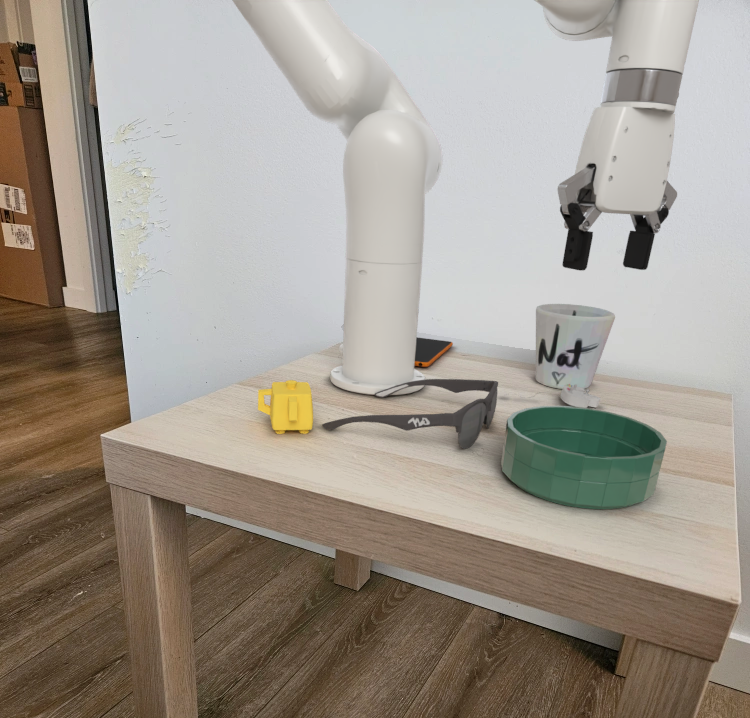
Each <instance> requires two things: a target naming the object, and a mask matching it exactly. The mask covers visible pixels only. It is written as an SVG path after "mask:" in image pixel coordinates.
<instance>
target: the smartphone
mask: <svg viewBox="0 0 750 718" xmlns="http://www.w3.org/2000/svg"><path fill="white" fill-rule="evenodd" d="M453 344H454V343H453V341H449V340H441V339H434V338H426V337H419V336H417V338H416V351H415V364H414V367H422V368H428V367H430V366H431V365H432V364H433V363H434V362H435V361H437V360H438V359H439V358H440V357H441V356H442V355H443V354H445V353H446V352H447V351H448V350H449V349H450V348H451V347H453Z"/></svg>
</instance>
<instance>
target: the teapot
mask: <svg viewBox="0 0 750 718" xmlns="http://www.w3.org/2000/svg"><path fill="white" fill-rule="evenodd" d="M312 394H313V393H312V389H311V386H310V383H308V382H307V381H297V380H294V379H288V380H286V381H272V382H271V388H265V389H264V388H261V389H258V391H257V411H259V412H262V413H263V414H266V415H268V416H269V418H270V423H271V428H272V430H273V431H274V432H275V434H277V435H282V434H286V431H298V432H299V434H305V435H306V434H309V433H310V431H311V430H312V429H313V426H314V406H313V395H312ZM265 396H270V401H269V404H267V403H265Z"/></svg>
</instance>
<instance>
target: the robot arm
mask: <svg viewBox="0 0 750 718" xmlns="http://www.w3.org/2000/svg"><path fill="white" fill-rule="evenodd" d="M534 1H535V2H536V3H538V4H539V5H540V6H541V7H542V11H543V16H544V20H545V23H546V24H547V26H548V28H549V30H550V31H551V32H552V33H553V34H554V35H555V36H557V37H558V38H560V39H562V40H565V41H569V42H582V41H583V42H584V41H590V40H595V39H596V40H597V39H604V38H610V37H611V42H610V47H609V51H608V52H609V53H608V59H607V63H606V69H605V74H604V79H603V80H604V81H603V86H602V91H601V98H600V104H599V107H594V108H593V110H592V112H591V115H590V118H589V120H588V124H587V126H586V129H585V132H584V136H583V138H582V143H581V145H580V150H579V155H578V158H577V162H576V166H575V170H574V174H573V175H572V176H569V177H568V178H566V179H565V180H563V181H562V182H560V183H559V184H558V186H557V195H558V200H559V204H560V207H559V212H560V214H561V216H562V218H563V220H564V223H563V226H564V228H565V230H567V236H566V241H565V247H564V252H563V257H562V265H561V266H562V267H563V268H565V269H570V270H575V271H586V269H587V268H588V263H589V258H590V253H591V247H592V243H593V236H594V231H590V228H591V227H593V224H594V223H595V222H596V221H597V220H598V218H599V217H600V216H601V214H602V213H604V214H616V215H618V214H619V215H630V219H631V222H632V225H633V228H634V230H630V231H629V233H628V237H627V241H626V242H627V243H626V245H625V246H626V247H625V251H624V256H623V262H622V265H623V267H625V268H629V269H635V270H639V271H640V270H641V271H645V270H647V269H648V266H649V264H650V263H649V262H650V257H651V254H652V248H653V244H654V240H655V236H656V234H658V233H659V232H660V231H661V226H662V224H663V223H664V221H665V220H666V219H667V218H668V216H669V214H670V213H669V212H670V210H671V208H672V206H673V205H674V203H675V201H676V199H677V198H678V192H677V191H678V190H676V189H675V188H674V186H672V184H671V183H670V182H669V181H668V177H669V172H670V166H671V162H672V161H671V159H672V154H673V146H674V138H675V128H676V127H675V125H676V113H675V112H676V106H677V102H678V98H679V96H680V89H681V84H682V80H683V75H684V70H685V64H686V61H687V57H688V52H689V48H690V43H691V38H692V34H693V29H694V25H695V20H696V16H697V12H698V6H699V2H700V0H534ZM232 2H233V3H234V5H235V7H236V8H237V9H238V12H239V13H240V14H241V16H242V17H243V19H245V21H246V22H247V24H248V25H249V27H250V28H251V30H252V31H253V32H254V34H255V35H256V37H257V38H258V40H259V42H260V43H261V45H262V46H263V48H264V49H265V51H266V52H267V54H268V55H269V56H270V58H271V59H272V61H273V62H274V63H275V65H276V66H277V67H278V69H279V71H280V72H281V74H282V75H283V77H284V78H285V79H286V81H287V82H288V83H289V85H290V87H291V88H292V90H293V91H294V92H295V94H296V96H297V97H298V99H299V100H300V102H301V103H302V104H303V107H304V108H305V109H306V110H307V111H309V113H310V114H311V115H312V116H313V117H315V118H317V119H319V120H320V121H322V122H325V123H327V124H331V125H335V126H336V128H337V129H338V130H339V132H340V133H341V134H342V136H343V137H344V139H345V140H346V144H345V148H344V153H343V160H342V161H343V162H342V172H343V173H342V176H343V177H342V178H343V191H344V192H343V193H344V202H345V204H344V205H345V265H344V266H345V269H344V270H345V271H344V273H345V274H344V301H343V303H344V305H343V306H344V307H343V336H342V343H341V344H340V345H339V346H338V352H339V353H340V354H342V364H341V365H339V366H336V367H334V368H332V369H331V371H330V377H329V379H330V382H331V383H332V385H334V386H336V387H337V388H340V389H342V390H345V391H348V392H352V393H357V394H361V395H362V394H363V395H372V396H375V395H374V394H375V393H377V392H380V391H382V390H385V389H388V388H391V387H394V386H397V385H400V384H403V383H407V382H412V381H418V380H426V376H425V375H424V373H422V372H421V371H420V370H417V369H415V366H414V364H415V351H416V338H417V337H418V336H417V335H418V325H419V312H420V310H419V309H420V298H421V286H422V275H423V274H422V273H423V257H424V246H425V245H424V242H425V222H426V221H425V220H426V219H425V215H426V213H425V212H426V210H425V209H426V208H425V207H426V206H425V204H426V202H425V201H426V194H427V193H429V192H430V191H431V190H432V189H433V188H434V186H435V185H436V184H437V181H438V180H439V178H440V175H441V173H442V169H443V162H444V161H443V156H444V155H443V148H442V144H441V142H440V139H439V137H438V135H437V133H436V132H435V130H434V128H433V127H432V126H431V124H430V122H429V121H428V119H427V118H426V117H425V115H424V113H423V112H422V111H421V110H420V109H421V108H419V106H418V105H417V104H416V102H415V101H414V99H413V98H412V96H411V94H410V93H409V91H408V90H407V88H406V87H405V86H404V85H403V83H402V82H401V79H400V78H399V77H398V75H397V74H396V72H395V71H394V69H393V68H392V67H391V65H390V64H389V63H388V62H387V60H386V59H385V57H384V56H383V55H382V54H381V53H380V51H378V50H377V48H375V47H374V46H373V45H372V44H371V43H370V42H368V41H367V40H365V39H363V38H362V37H361V36H359V35H358V34H357V33H355V32H354V31H353V30H352V29H351V28H350V27H349V26H348V25H347V24H346V23H345V21H344V20H343V19H342V18H341V16H340V14H338V12H337V11H336V10H335V8H334V7H333V6H332V4H331V3H330V1H329V0H232ZM424 387H425V385H420V386H412V387H407V388H404V389H401V390H399V391H397V392H395V393H393V394H391V395H390V396H399V395H406V394H411V393H415V392H418V391H421V389H423V388H424Z"/></svg>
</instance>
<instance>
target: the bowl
mask: <svg viewBox="0 0 750 718" xmlns="http://www.w3.org/2000/svg"><path fill="white" fill-rule="evenodd" d="M667 443H668V440H667V439H666V438H665V436H664V435H663V433H662V432H660V431H659V430H657V429H656V428H654V427H652V426H651V425H650V424H647V423H644V422H643V421H642V422H641V421H640V420H637V419H635V418H632V417H630V416H626V415H622V414H618V413H616V412H615V413H614V412H612V411H606V410H601V409H595V408H589V407H587V408H582V407H575V406H572V405H540V406H533V407H526V408H523V409H520V410H517V411H515V412H512V414H511V415H510V416H508V418H507V419H506V424H505V432H504V439H503V446H502V453H501V458H500V459H501V460H500V465H501V471H502V472H503V473H504V475H505V476H506V477H507V478H508V479H509V481H510V482H512V483H513V484H514V485H515V486H517V487H518V488H519V489H521V490H522V491H524V492H526V493H528V494H530V495H531V496H534V497H537V498H539V499H542V500H545V501H547V502H550V503H554V504H558V505H562V506H567V507H573V508H580V509H589V510H613V509H614V510H615V509H623V508H628V507H631V506H634V505H635V504H639V503H644V502H645V501H646V500H648V499H649V498H651V497H652V496H654V494H655V491H656V488H657V483H658V480H659V476H660V472H661V467H662V464H663V463H662V462H663V460H664V455H665V452H666V448H667Z"/></svg>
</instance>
